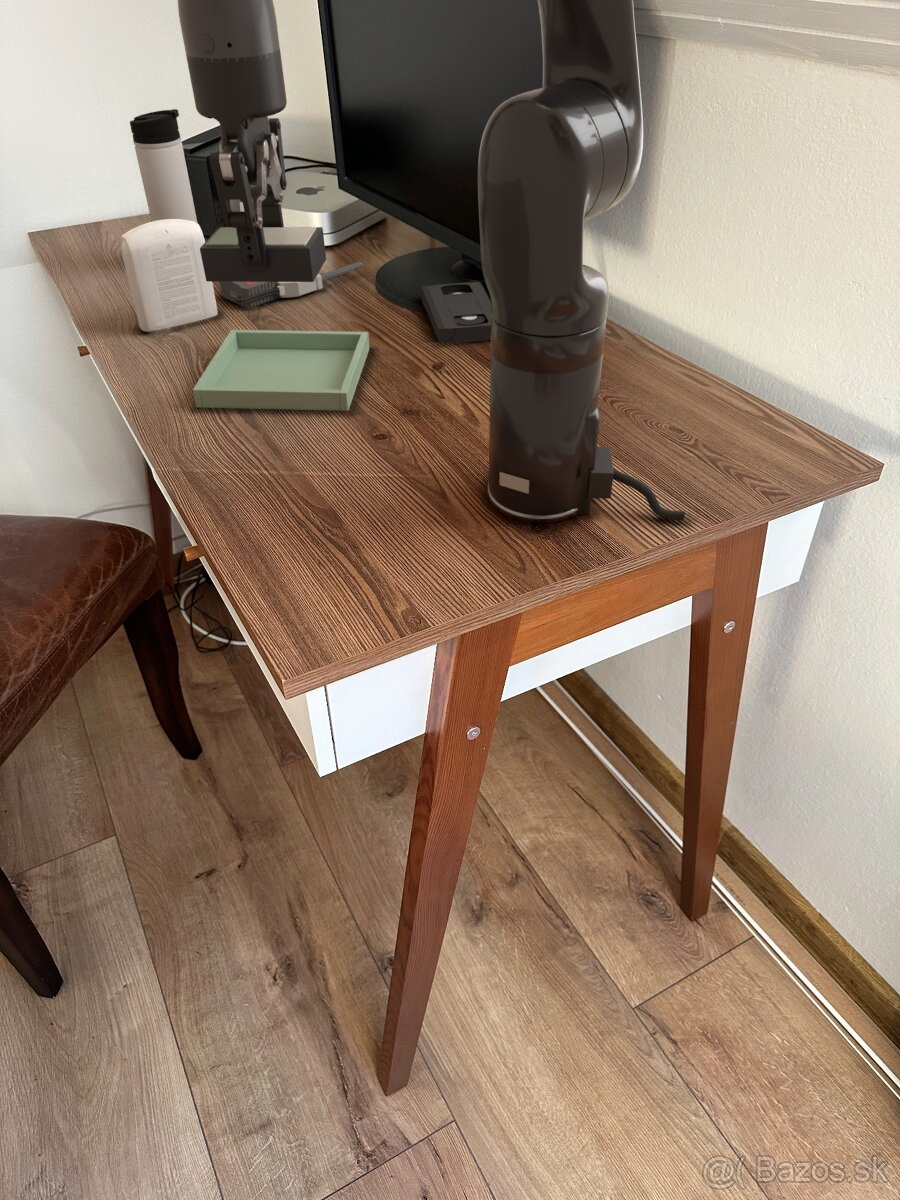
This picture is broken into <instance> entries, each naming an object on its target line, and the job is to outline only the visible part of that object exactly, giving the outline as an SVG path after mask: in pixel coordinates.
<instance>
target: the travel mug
mask: <svg viewBox="0 0 900 1200" xmlns="http://www.w3.org/2000/svg"><path fill="white" fill-rule="evenodd" d="M179 116H180V112H179V109H177V108H173V109H172V108H171V109H164V110H157V111H151V112H147V113H143V114H140V115H137V116H135V117H133V120H129V126H130V131H131V133H132V140H133V141H132V142H133V145H134V150H135V154H136V155H135V156H136V159H137V164H138V168H139V173H140V177H141V183H142V186H143V191H144V195H145V199H146V203H147V208H148V212H149V216H150V222H153V221H157V220H165V219H183V220H190V221H194V222H195V223H197V224H199V223H198V219H197V214H196V213H197V212H196V209H195V204H194V197H193V193H192V192H193V191H192V187H191V182H190V178H189V172H188V167H187V163H186V158H185V152H184V147H183V142H182V136H181V133H180V131H179V129H180V128H179V124H178V119H177V118H179Z"/></svg>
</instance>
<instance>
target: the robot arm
mask: <svg viewBox="0 0 900 1200" xmlns="http://www.w3.org/2000/svg"><path fill="white" fill-rule="evenodd" d="M536 1H537V6H538V15H539V20H540V33H541V49H542V50H541V51H542V52H541V53H542V87H539V88H536V89H532V90H529V91H526V92H525V91H524V92H522V93H519V94H517V95H514V96H512V97H510V98H508V99H506V100H505V101H503V102H502V103H500V104H499V105H498V106H497V107H496V108H495V110H494V111H493V112H492V114H491V115H490V117H489V118H488V119H487V123H486V125H485V127H484V130H483V132H482V137H481V140H480V146H479V151H478V160H477V161H478V162H477V201H478V218H479V219H478V222H479V223H478V224H479V226H478V227H479V244H480V245H479V246H480V263H481V271H482V275H483V278H484V282H485V285H486V287H487V290H488V293H489V296H490V297H489V298H490V301H491V340H490V367H489V429H488V430H489V431H488V432H489V433H488V435H489V440H488V443H489V444H488V457H489V458H488V474H487V475H488V476H487V477H488V479H487V480H488V483H487V498H488V501H489V502H490V504H491V505H492V506H493V507H494V509H496V510H497V511H498V512H500V513H502V514H503V515H505V516H507V517H509V518H512V519H515V520H519V521H521V522H527V523H528V522H529V523H538V524H539V523H554V522H560V521H564V520H567V519H570V518H573V517H574V516H576V515H589V514H591V508H592V500H593V499H608V500H609V499H610V500H611V499H612V492H613V482H614V481H616V482H618V483H621V484H623V485H626V486H628V487H630V488H632V489H634V490H635V491H637V492H638V493H640V494H641V495H642V496H643V497H644V498H645V500H646V502H647V504H648V505H649V508H650V509H651V511H652V512H653V513H654V514H655V515H657V516H658V517H659V518H661V519H664V520H668V521H681V522H684V521H685V516H686V511H683V510H669V509H666V508H664V507H663V506H662V505H661V504H660V503H659V501H658V499H657V496H656V495H655V493H654V491H653V490H652V489H651V488H650V487H649V486H647V484H645V483H644V482H642V481H641V480H639V479H637V478H635V477H633V476H631V475H629V474H626V473H624V472H622V471H619V470H618V469H615V468H614V464H613V456H612V448H611V446H598V440H599V439H598V438H599V430H600V411H599V398H600V390H601V388H600V387H601V378H602V367H603V360H604V359H603V358H604V349H605V339H606V338H605V337H606V328H607V319H608V318H607V317H608V309H609V300H610V299H609V297H610V288H609V283H608V281H607V279H606V277H605V276H604V275H603V274H602V273H601V272H600V271H599V270H598V269H595V268H594V267H592V266H589V265H586V264H584V230H585V229H584V227H585V225H584V224H585V221H588V220H591V219H593V218H595V217H598V216H600V215H602V214H603V213H606V212H608V211H609V210H611V209H613V208H615V207H616V206H617V205H618V204H619V203H620V202H622V201H623V200H624V199H625V198H626V197H627V195H628V194H629V192H630V191H631V189H632V188H633V187H634V184H635V182H636V180H637V177H638V174H639V172H640V167H641V164H642V163H641V162H642V158H643V151H644V150H643V149H644V119H643V117H644V116H643V104H642V102H643V101H642V92H641V81H640V79H641V78H640V69H639V67H640V66H639V59H638V57H639V55H638V47H637V35H636V23H635V9H634V0H536ZM177 11H178V19H179V24H180V30H181V35H182V41H183V45H184V51H185V57H186V62H187V67H188V72H189V77H190V78H189V79H190V84H191V90H192V95H193V100H194V106H195V109H196V111H197V113H198V114H199V116H202V117H204V118H206V119H213V120H215V121H217V122H218V123H219V126H220V141H219V143H218V148H219V150H218V151H217V152H216V151H215V152H214V151H212V152H210V154H209V164H210V167H211V171H212V176H213V182H214V184H215V189H216V193H217V198H218V202H219V206H220V210H221V216H222V220H223V224H224V227H233V228H236V231H237V237H238V242H239V248H240V254H241V259H242V265H243V268H244V270H246V271H248V272H263V271H265V270H266V269H267V268H268V265H269V263H268V256H267V250H266V244H265V237H264V231H263V227H285V225H284V217H283V211H282V210H283V209H282V205H281V204H282V203H283V202H284V201H283V199H284V193H283V191H286V189H287V186H288V182H287V178H286V176H287V175H286V168H285V157H284V149H283V139H282V137H283V136H282V124H281V121H280V119H279V117H272V116H275V115H278V113H280V112H282V111H284V110H285V108H286V107H287V104H288V102H287V93H286V92H287V91H286V85H285V84H286V83H285V77H284V70H283V61H282V54H281V47H280V46H281V45H280V39H279V31H278V23H277V22H278V21H277V16H276V9H275V5H274V0H177ZM241 203H242V207H243V211H241Z"/></svg>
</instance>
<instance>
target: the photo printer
mask: <svg viewBox="0 0 900 1200" xmlns="http://www.w3.org/2000/svg"><path fill="white" fill-rule="evenodd" d="M197 223H198V222H197ZM197 223H195V222H194V221H190V220H183V219H165V220H157V221H153V222H152V221H149V222H146V223H142V224H140V225H138V226H135V227H134V228H131V229H129V230H128V231H126V232H124V233H123V234H122V235H121V236H120V245H121V256H122V260H123V264H124V267H125V271H126V276H127V280H128V285H129V290H130V293H131V298H132V301H133V306H134V309H135V315H136V318H137V322H138V327H139V329H140V330H141V331H143V332H146V333H150V332H157V331H162V330H166V329H170V328H174V327H180V326H183V325H187V324H191V323H194V322H200V321H202V320H207V319H210V318H214V317H216V316H218V313H219V311H218V305H217V301H216V294H215V289H214V284H213V281H206V277H205V272H204V267H203V262H202V258H201V253H200V247H201V246H202V245H203V244H204V243H205V242H206V240H205V239H206V238H205V237H204V234H203V230H202V228H201V226H200V224H199V223H198V224H197Z"/></svg>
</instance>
